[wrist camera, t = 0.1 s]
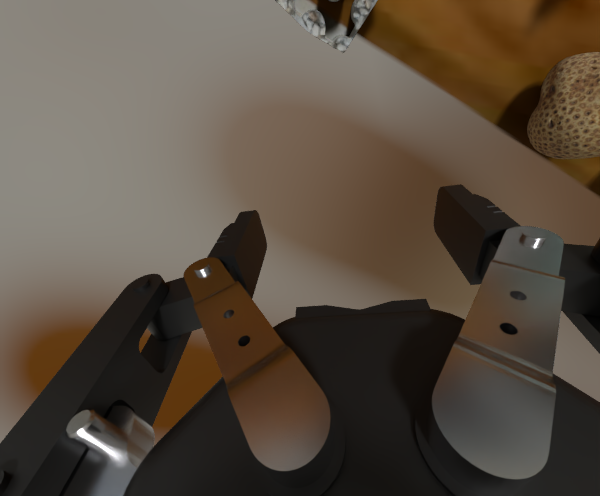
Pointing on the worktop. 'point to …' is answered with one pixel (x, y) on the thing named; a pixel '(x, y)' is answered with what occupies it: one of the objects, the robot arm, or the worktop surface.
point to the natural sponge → (569, 110)
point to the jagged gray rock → (328, 20)
